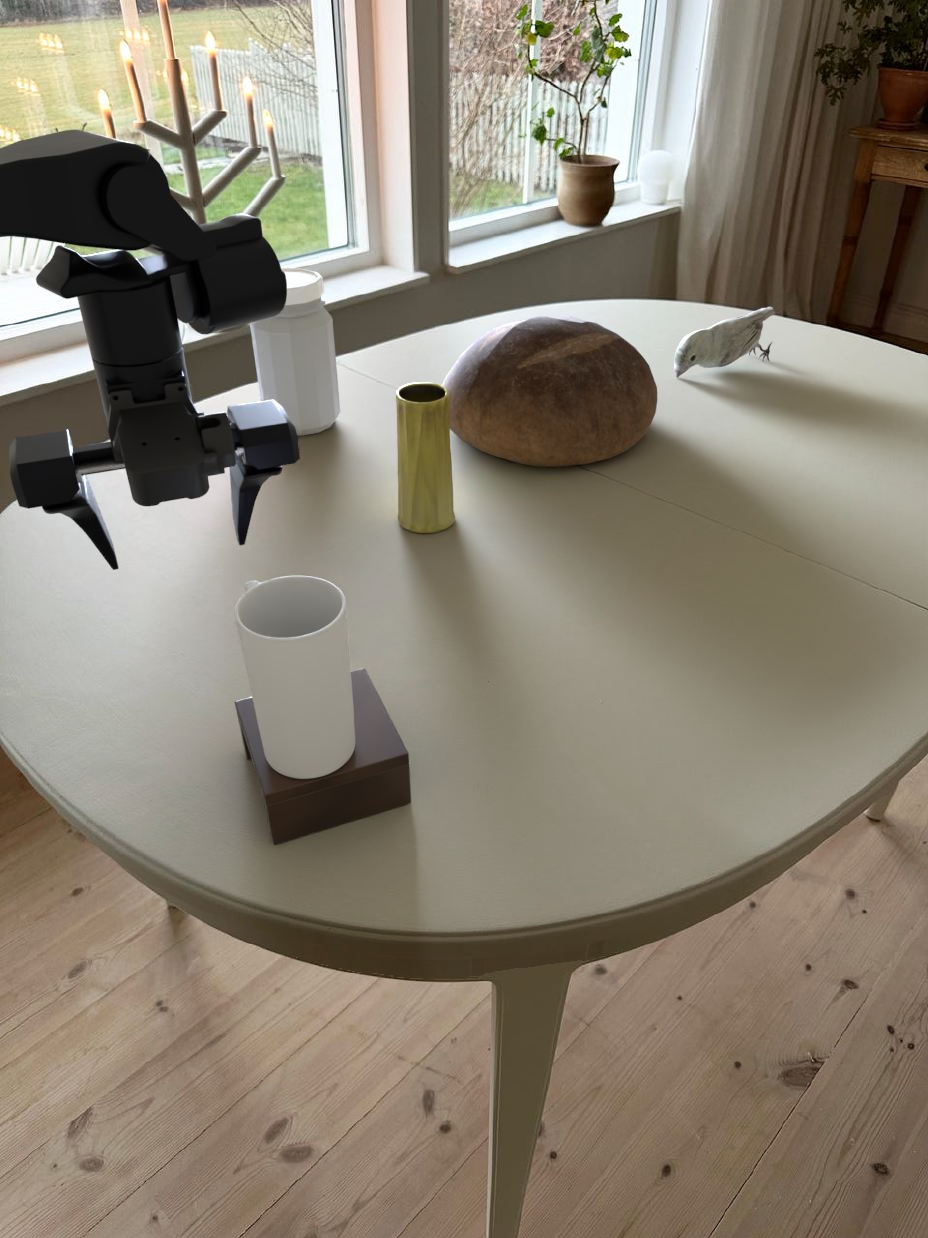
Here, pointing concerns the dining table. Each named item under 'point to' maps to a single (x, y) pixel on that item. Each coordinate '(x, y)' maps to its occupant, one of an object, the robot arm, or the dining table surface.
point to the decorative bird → (722, 342)
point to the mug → (299, 673)
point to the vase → (424, 458)
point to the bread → (551, 393)
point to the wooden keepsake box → (344, 794)
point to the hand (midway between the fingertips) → (179, 554)
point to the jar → (299, 355)
